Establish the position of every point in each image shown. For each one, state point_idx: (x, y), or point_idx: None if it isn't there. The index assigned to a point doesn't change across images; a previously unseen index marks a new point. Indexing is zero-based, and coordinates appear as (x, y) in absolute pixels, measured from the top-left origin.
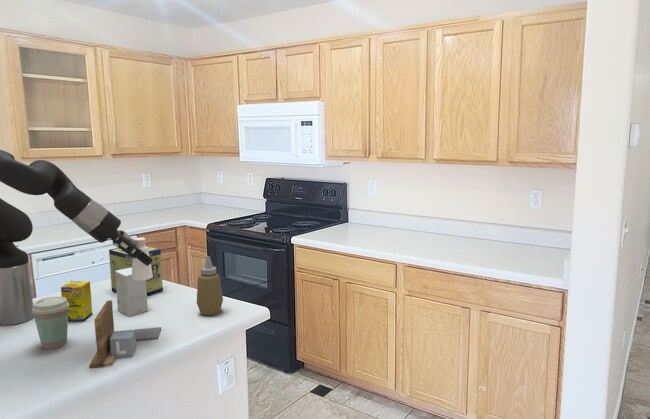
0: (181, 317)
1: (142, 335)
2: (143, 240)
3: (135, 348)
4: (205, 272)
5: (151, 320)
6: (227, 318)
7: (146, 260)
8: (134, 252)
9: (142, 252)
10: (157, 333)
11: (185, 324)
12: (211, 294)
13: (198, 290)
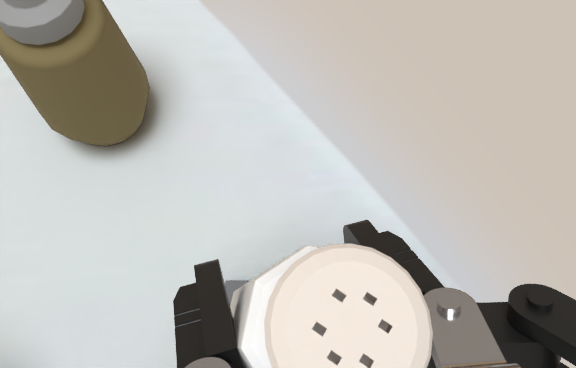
0: (124, 215)
1: None
2: (401, 268)
3: None
4: (73, 14)
5: (119, 333)
6: (186, 61)
7: None
8: (557, 362)
9: (424, 293)
10: None
11: (202, 197)
12: (133, 59)
13: (92, 103)
